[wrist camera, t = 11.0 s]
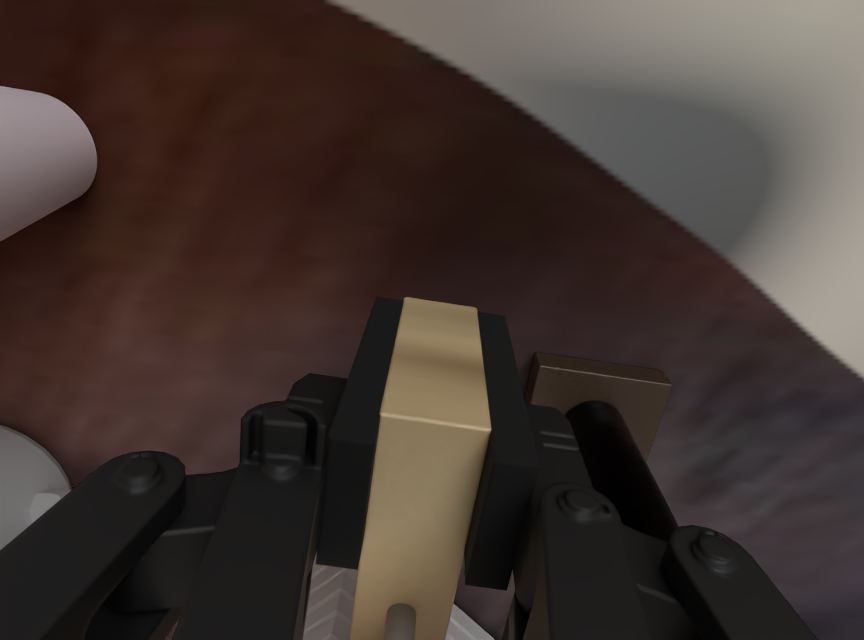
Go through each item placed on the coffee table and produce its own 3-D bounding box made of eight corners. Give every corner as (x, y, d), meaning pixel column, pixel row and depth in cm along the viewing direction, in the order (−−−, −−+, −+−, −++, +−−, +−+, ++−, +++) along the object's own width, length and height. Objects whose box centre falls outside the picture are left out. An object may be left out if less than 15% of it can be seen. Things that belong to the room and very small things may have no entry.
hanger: (404, 295, 15) (320, 678, 5) (477, 307, 16) (527, 705, 6) (358, 617, 20) (267, 1150, 10) (415, 625, 20) (382, 1162, 10)
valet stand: (340, 322, 22) (130, 786, 7) (662, 369, 22) (1052, 898, 8) (331, 422, 24) (145, 956, 9) (630, 465, 24) (901, 1042, 10)
